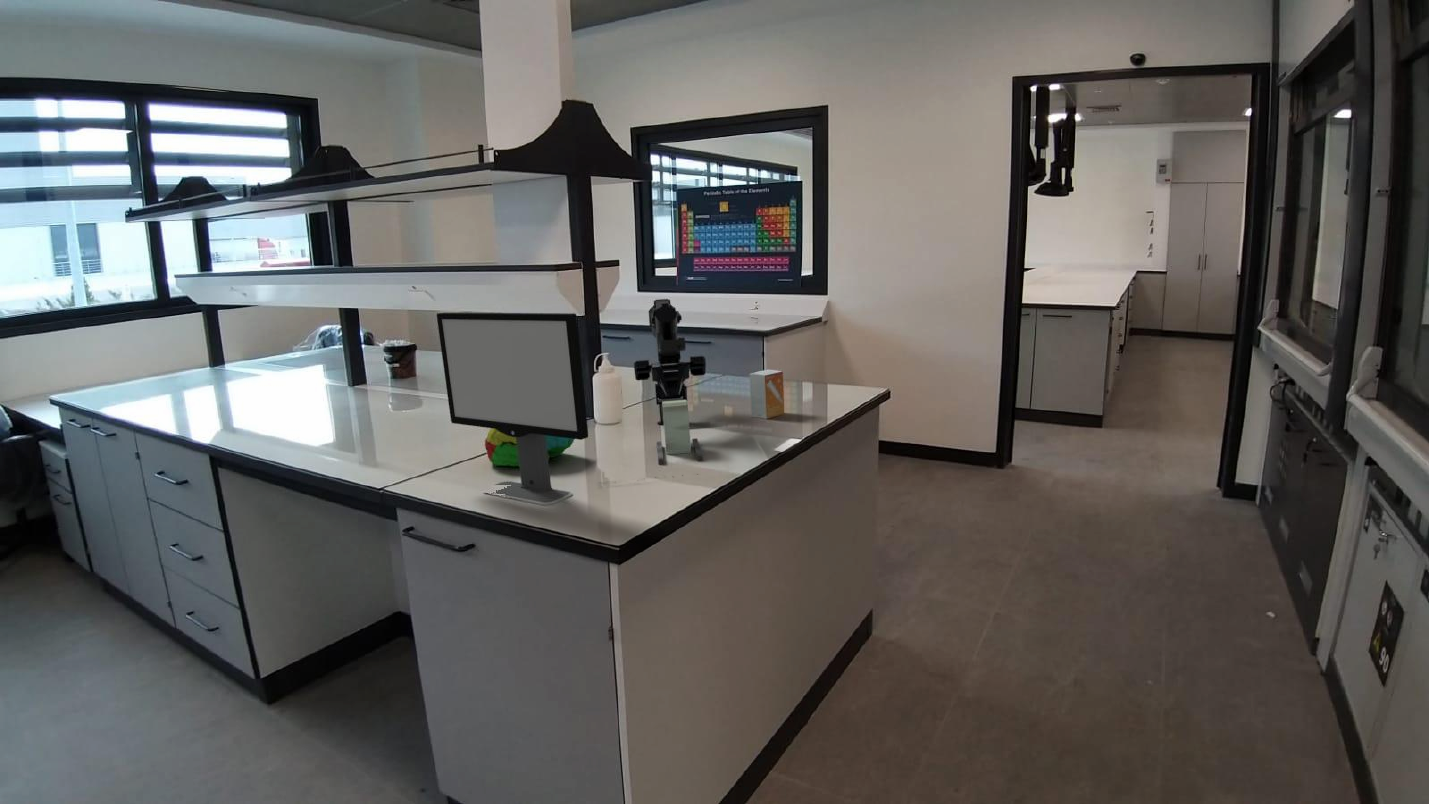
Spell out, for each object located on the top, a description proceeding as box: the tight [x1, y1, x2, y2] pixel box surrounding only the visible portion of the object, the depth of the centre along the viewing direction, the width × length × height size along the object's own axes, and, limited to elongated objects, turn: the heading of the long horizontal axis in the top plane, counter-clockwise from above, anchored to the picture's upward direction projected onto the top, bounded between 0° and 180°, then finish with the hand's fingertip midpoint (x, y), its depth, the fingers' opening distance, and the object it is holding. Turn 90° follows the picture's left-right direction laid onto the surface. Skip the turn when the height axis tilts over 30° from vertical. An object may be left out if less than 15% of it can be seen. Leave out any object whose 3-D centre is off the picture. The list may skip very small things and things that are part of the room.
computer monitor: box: [436, 311, 589, 506], centre depth 169 cm, size 41×8×40 cm, turn 56°
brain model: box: [484, 428, 575, 467], centre depth 197 cm, size 24×19×15 cm
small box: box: [749, 369, 785, 420], centre depth 230 cm, size 8×6×13 cm
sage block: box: [662, 400, 692, 455], centre depth 193 cm, size 6×6×12 cm
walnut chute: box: [656, 437, 704, 466], centre depth 192 cm, size 16×12×3 cm
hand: (672, 394), depth 202 cm, fingers open, 3 cm apart
